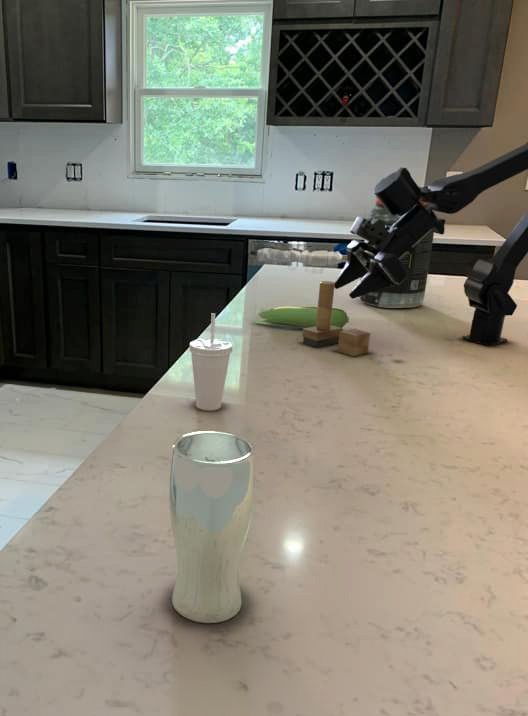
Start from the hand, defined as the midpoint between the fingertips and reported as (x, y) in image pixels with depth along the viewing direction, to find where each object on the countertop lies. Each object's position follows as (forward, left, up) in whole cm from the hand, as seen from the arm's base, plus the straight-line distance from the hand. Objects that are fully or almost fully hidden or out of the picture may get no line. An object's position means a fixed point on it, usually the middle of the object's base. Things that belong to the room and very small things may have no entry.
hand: (342, 292), depth 142 cm
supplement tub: (-40, -19, -10) cm, 45 cm away
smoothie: (+45, +14, -10) cm, 48 cm away
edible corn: (-3, -13, -10) cm, 17 cm away
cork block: (+3, +6, -10) cm, 12 cm away
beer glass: (+77, +53, -10) cm, 94 cm away
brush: (+3, -2, -10) cm, 11 cm away
